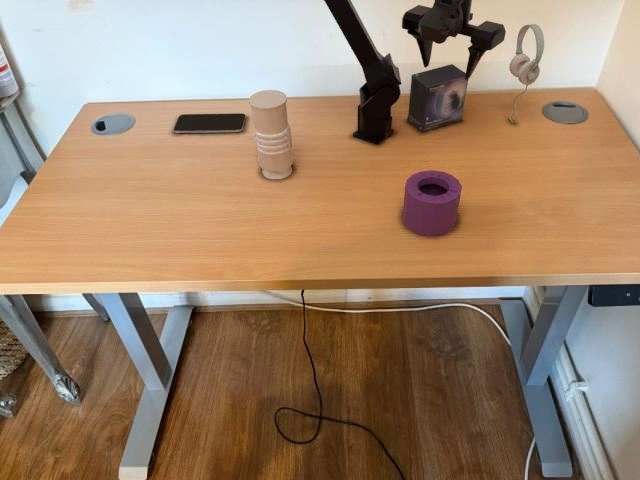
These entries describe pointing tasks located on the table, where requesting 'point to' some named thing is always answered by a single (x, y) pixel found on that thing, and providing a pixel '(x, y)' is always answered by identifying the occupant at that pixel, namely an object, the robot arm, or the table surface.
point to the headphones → (527, 59)
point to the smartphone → (209, 123)
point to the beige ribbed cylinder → (272, 133)
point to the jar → (431, 202)
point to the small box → (437, 97)
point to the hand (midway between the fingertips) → (446, 72)
